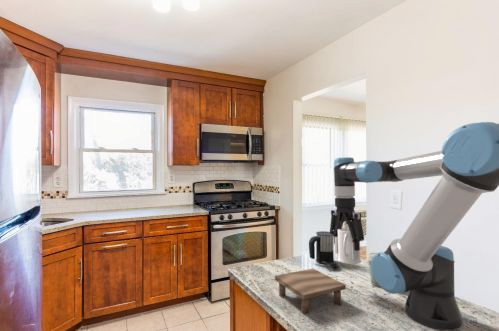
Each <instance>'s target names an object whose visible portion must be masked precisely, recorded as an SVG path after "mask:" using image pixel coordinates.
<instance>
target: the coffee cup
mask: <svg viewBox="0 0 499 331" xmlns="http://www.w3.org/2000/svg"><path fill="white" fill-rule="evenodd" d="M377 253H378V252H370V253H368V256H367V258H366V259H367V261H368V270H369V276H370V283H371V285H372V286H374V287H377V288H381V287H380V285H379V284H378V283H377V281H376V280H375V278H374V275H373V271H372V268H371V261H372V258H373V256H374V255H375V254H377Z"/></svg>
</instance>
